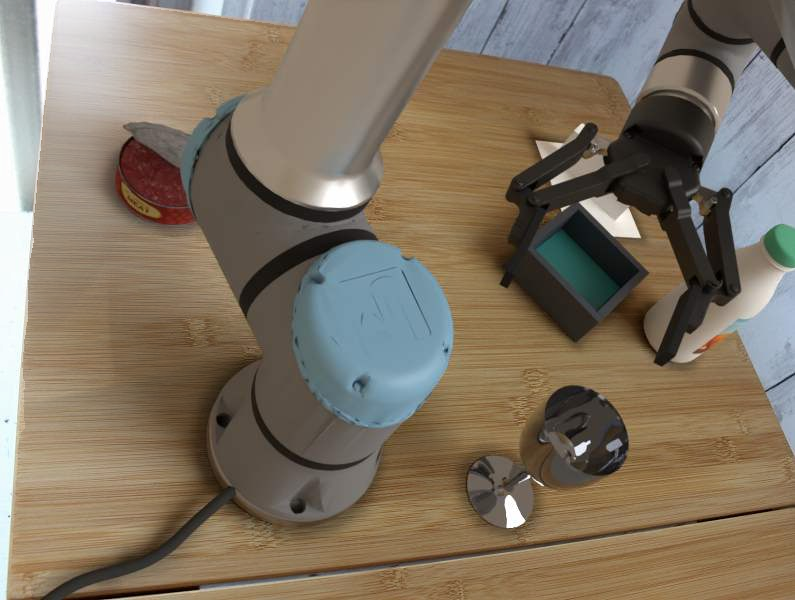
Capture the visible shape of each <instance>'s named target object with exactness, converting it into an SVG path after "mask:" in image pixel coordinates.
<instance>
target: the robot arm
mask: <svg viewBox="0 0 795 600" xmlns="http://www.w3.org/2000/svg"><path fill="white" fill-rule="evenodd" d="M473 1H474V0H308V1H307V4H306V5H305V7H304V9H303V12H302V14H301V16H300V18H299V21H298V23H297V25H296V28H295V30H294V31H293V34H292V36H291V38H290V41H289V42H288V45H287V46H286V49H285V52H284V54H283V55H282V58H281V61H280V63H279V65H278V67H277V69H276V71H275V73H274V76H273V78H272V80H271V82H270V84H268V85H263V86H259V87H257V88H255V89H253V90H251V91H249V92H246V93H243V94H240V95H237V96H234V97H232V98H230V99H228V100H226V101H225V102H223V103H222V104H221V103H220V105H218V106H217V107H215V111H216V114H215V115H214V116H212V117H208V116H205V117H203V118H202V119H201V120H200V122H199V123H198V124H197V125H196V126H195V128H194V129H193V131H191V133H190V137H189V139H188V141H187V143H186V145H185V148H184V150H183V154H182V159H181V166H180V171H181V179H182V184H183V187H184V190H185V192H186V195H187V201H188V205H189V207H190V209H191V213H192V215H193V217H194V218H195V220H196V223H197V225H198V227H199V229H200V230H201V231H202V234H203V236H204V238H205V239H206V242H207V244H208V246H209V248H210V250H211V252H212V254H213V256H214V258H215V260H216V262H217V264H218V267H219V268H220V270H221V272H222V274H223V276H224V277H225V280H226V282H227V284H228V287H229V288H230V291H231V292H232V295H233V296H234V299H235V300H236V302H237V304H238V306H239V309H240V310H241V312H242V314H243V316H244V318H245V321H246V322H247V325H248V327H249V329H250V331H251V333H252V335H253V338H254V339H255V342H256V343H257V345H258V347H259V349H260V352H261V354H262V358H260V359H258V360H256V361H254V362H251V363H250V364H248V365H246V366H244V367H242V368H241V369H240V370H238V371H237V372H236V373H235V374H233V376H232V377H230V378H229V380H228V381H226V383H225V385H224V386H223V387H222V389H221V390H220V392H219V394H218V395H217V398H216V400H215V402H214V404H213V406H212V407H211V411H210V413H209V415H208V416H209V417H208V420H207V425H206V430H205V431H206V433H205V444H206V445H205V447H206V453H207V457H208V461H209V464H210V468H211V470H212V472H213V475H214V476H215V479H216V481H217V482H218V483H219V484H218V485H220V487H221V488H222V489H223V490H222V491H221V492H220V493H218V495H216V496H215V497H213V498H212V499H211V500H210V501H209V502H208V503H207V504H205V505H204V506H203V507H202V508H201V509H199V510H198V511H197V512H196V513H195V514H194V515H193V516H191V518H190V519H188V520H187V521H186V522H185V523H184V524H183V525H182V526H181V527H179V529H178V530H177V531H176V532H175V533H174V534H173V535H172V536H170V538H168V539H167V540H166V541H165V542H163V543H162V544H161V545H159V546H157V547H156V548H154V549H152V550H151V551H149V552H147V553H145V554H143V555H140V556H138V557H135V558H133V559H130V560H126V561H122V562H120V563H116V564H112V565H108V566H104V567H100V568H96V569H93V570H90V571H88V572H85V573H82V574H80V575H77V576H74V577H72V578H70V579H68V580H67V581H64V582H62V583H61V584H60V585H58V586H56V587H54V588H53V589H52V590H51V591H49V592H47V593H46V594H45V595H44V596H42V597H41V598H39V600H63V599H65V598H66V597H68V596H69V595H71V594H73V593H75V592H77V591H79V590H81V589H84V588H86V587H89V586H92V585H94V584H98V583H102V582H104V581H108V580H112V579H116V578H120V577H125V576H127V575H130V574H133V573H137V572H139V571H142V570H144V569H146V568H148V567H151V566H153V565H154V564H156V563H158V562H160V561H162V560H164V559H165V558H167V557H168V556H169V555H171V554H172V553H173V552H175V550H177V549H178V548H179V547H180V546H181V545H182V544H183V543H184V542H185V541H186V540H187V539H188V538H189V537H191V535H192V534H193V533H194V532H196V530H197V529H199V528H200V526H202V525H203V524H204V523H205V522H207V520H208V519H210V518H211V517H212V516H213V515H215V513H217V512H218V511H219V510H220V509H222V508H223V507H224V506H226V504H227V503H228V502H230V501H231V500H232V501H233V502H234V503H235V504H236V505H237V506H238V507H240V508H241V509H242V510H244V511H245V512H246V513H248V514H250V515H252V516H253V517H255V518H257V519H259V520H261V521H264V522H266V523H269V524H272V525H276V526H280V527H288V528H308V527H315V526H318V525H322V524H325V523H327V522H330V521H332V520H334V519H337V518H338V517H340V516H342V515H343V514H345V513H346V512H347V511H349V509H351V508H352V507H353V506H355V504H357V502H358V501H359V500H360V499H361V498H362V497H363V496H364V495H365V493H366V492H367V491H368V490H369V488H370V487H371V485H372V484H373V481H374V479H375V477H376V475H377V472H378V469H379V466H380V463H381V457H382V454H383V453H382V452H383V451H382V448H383V446H384V443H385V442H386V441H387V440H388V439H389V438H390V437H391V436H392V435H393V434H394V433H395V432H396V431H397V430H398V428H400V427H401V425H403V424H404V422H405V421H406V420H408V419H410V418H411V417H412V416H413V415H414V414H415V413H416V412H417V411H419V410H420V409H421V408H422V406H423V405H424V403H426V402H427V401H428V399H429V398H430V396H431V394H432V392H433V391H434V389H435V387H436V386H437V384H438V383H439V382H440V381H441V379H442V377H443V375H444V374H445V372H446V370H447V367H448V365H449V362H450V359H451V354H452V352H453V348H454V335H455V334H454V322H453V316H452V311H451V308H450V305H449V302H448V299H447V297H446V295H445V292H444V290H443V288H442V287H441V286H440V284H439V282H438V281H437V279H436V278H435V276H434V275H433V274H432V273H431V271H430V270H429V269H428V268H427V267H426V266H425V265H424V264H423V263H422V262H421V261H419V259H417V258H416V257H415V256H410V257H406V256H404V255H402V249H401V248H399V247H398V246H396V245H394V244H391V243H387V242H385V241H380V240H379V238H378V236H377V235H376V233H375V231H374V230H373V228H372V226H371V225H370V222H369V221H368V219H367V217H366V215H365V210H366V208H367V207H368V205H369V203H370V202H371V200H372V199H373V198H374V196H375V195H376V193H377V191H378V190H379V188H380V186H381V184H382V181H383V177H384V173H385V172H384V169H385V168H384V166H385V165H384V158H383V156H382V151H381V149H380V148H381V147H382V145H383V143H384V141H385V140H386V138H387V137H388V135H389V133H390V132H391V131H392V129H393V127H394V126H395V124H396V123H397V121H398V119H399V118H400V116H401V115H402V114H403V112H404V110H405V109H406V107H407V106H408V104H409V102H410V101H411V99H412V97H413V96H414V94H415V92H416V91H417V90H418V88H419V87H420V85H421V84H422V82H423V80H424V78H425V77H426V75H427V74H428V72H429V71H430V69H431V67H432V66H433V65H434V63H435V62H436V60H437V58H438V57H439V56H440V53H441V52H442V50H443V49H444V47H445V46H446V44H447V42H448V41H449V39H450V38H451V36H452V34H453V33H454V32H455V30H456V28H457V27H458V25H459V24H460V22H461V20H462V19H463V17H464V15H465V14H466V13H467V12H468V9H469V8H470V6H471V4H472V3H473ZM758 47H759V49H760V50H761V52H762V53H763V54H764V55H765V56H766V57H767V59H768V60H769V61H770V63H772V65H773V66H774V67H775V69H776V70H778V71H779V72H780V73H781V74H782V77H784V78H785V80H786V81H787V82H788V84H789V85H790V86H791V87H792V89H793V90H794V91H795V0H682V2H681V4H680V7H679V9H678V11H676V13H675V15H674V18H673V20H672V24H671V27H670V29H669V31H668V33H667V35H666V38H665V40H664V42H663V45H662V47H661V49H660V51H659V53H658V56H657V58H656V60H655V62H654V64H653V66H652V67H651V69H650V71H649V74H648V75H647V76H646V77H647V78H646V80H645V81H644V84H643V86H642V88H641V90H640V92H639V94H638V96H637V98H636V100H635V103H634V105H633V107H632V108H631V110H630V113H629V114H628V116H627V119H626V120H625V123H624V125H623V127H622V129H621V131H620V133H619V134H618V137H617V139H615V140H613V141H610V140H609V139H607V138H605V137H603V136H602V135H600V134H599V133H598V132H599V127H598V126H597V124H596V123H594V122H587V123H585V124H584V125H585V126H584V127H583V129H582V130H581V132H580V133H579V135H578V136H577V137H576V139H574V140H572V141H571V142H569V143H568V144H566V145H564V146H563V147H561V148H560V149H558V150H556V151H555V152H553V153H552V154H550V155H548V156H547V157H545V158H544V159H542V158H541V159H540V160H539V161H537V162H535V163H534V164H532V165H531V166H529V167H528V168H526V169H524V170H523V171H521V172H520V173H518V174H516V175H514V176H513V177H512V178H511V181H510V183H509V185H508V187H507V189H506V191H505V194H504V198H505V200H506V201H507V202H508V203H511V204H514V205H516V207H517V208H518V215H517V216H516V218H515V221H514V222H513V225H512V227H511V229H510V230H509V232H508V235H507V237H506V238H507V239H506V244H508V245H510V246H512V247H515V249H516V248H517V250H516V252H515V254H514V256H513V258H512V260H511V262H510V264H509V266H508V268H507V270H505V271H504V273H503V276H502V277H501V280H500V282H499V283H498V285H499V286H501V287H503V288H504V289H509V287H510V285H511V283H512V281H513V280H514V276H515V274H516V272H517V270H518V268H519V266H520V264H521V262H522V260H523V258H524V256H525V254H526V252H527V250H528V248H529V246H530V244H531V242H532V240H533V238H534V236H535V234H536V232H537V230H539V229H540V226H541V224H542V222H543V220H544V219H545V216H546V214H548V213H551V212H554V211H556V210H561V208H563V207H566V206H569V205H572V204H575V203H578V202H581V201H584V200H586V199H589V198H592V197H596V198H599V197H602V196H605V195H608V194H611V193H613V194H614V195H615V196H616V197H617V200H616V201H618V202H620V203H622V204H625V205H629V207H633V208H635V210H637V211H638V212H640V213H641V214H644V215H645V216H647V217H651V216H656V219H657V221H658V223H659V226H660V229H661V231H663V232H665V234H666V237H667V238H668V241H669V243H670V246H671V249H672V251H673V254H674V256H675V260H676V262H677V265H678V267H679V270H680V272H681V275H682V278H683V281H684V280H685V283H686V285H687V288H688V289H687V290H686V291H685V292H684V293H683V294H682V295H681V296H680V297H679V300H678V302H677V305H676V307H675V310H674V312H673V315H672V317H671V320H670V322H669V325H668V327H667V330H666V332H665V335H664V337H663V340H662V342H661V344H660V347H659V349H658V352H657V351H656V355H655V357H654V359H653V362H652V363H653V364H655V365H657V366H659V367H661V368H662V367H664V366H665V365H666V364H668V363H669V362H671V361H670V360H671V359H673V358H674V357H675V356H676V354H677V352H678V349H679V347H680V344H681V342H682V339H683V337H684V334H685V332H686V333H688V334H691V333H693V332H694V331H695V330H696V329H698V328H699V327H700V326H701V325H702V323H703V321H704V318H705V315H706V313H707V310H708V307H709V305H710V302H712V303H715V304H716V305H718V306H721V307H722V306H725V305H726V304H728V303H729V302H730V301H731V300H733V299H734V298H735V297H736V296H738V295H739V294H740V293H741V284H740V277H739V271H738V265H737V259H736V252H735V249H736V247H735V241H734V234H733V228H732V221H731V215H730V210H731V207H732V203H733V198H734V193H733V191H732V190H731V189H730V188H728V187H721V188H720V189H719V190H718V191H717V190H714V189H711V188H709V187H706V186H703V185H701V184H702V183H701V179H700V178H701V177H700V176H701V172H702V169H703V168H704V165H705V163H706V160H707V158H708V156H709V153H710V151H711V148H712V146H713V143H714V141H715V139H716V135H717V134H718V132H719V129H720V127H721V124H722V122H723V119H724V117H725V114H726V112H727V109H728V107H729V104H730V102H731V100H732V97H733V94H734V91H735V89H736V88H737V85H738V83H739V81H740V78H741V76H742V73H743V72H744V70H745V68H746V66H747V64H748V62H749V60H750V59H751V57H752V55H753V54H754V53H755V51H756V50H757V48H758ZM597 154H599V155H602V156H603V162H604V166H603V167H601V168H600V169H599V170H597V171H594V172H591V173H588V174H585V175H582V176H579V177H576V178H573V179H570V180H567V181H564V182H561V183H558V184H555V185H552V184H551V185H549V186H546V187H543V186H544V185H546V184H547V183H549V182H551V181H550V180H552V179H553V178H555V177H557V176H558V175H560V174H561V173H563V172H564V171H566V170H567V169H569V168H571V167H572V166H574V165H575V164H576V163H577V162H578V161H579V160H580V159H581V158H583V159H588V158H591V157H593V156H594V155H597ZM541 187H543V188H541ZM539 188H540V189H539ZM691 201H695V202H696V203H697V204H698V210H699V211H698V215H699V216H700V217H703V219H702V231H703V239H704V245H705V248H704V246H703V243H702V241H701V238H700V236H699V233H698V231H697V228H696V225H695V223H694V220H693V218H692V206H691V204H690V202H691Z"/></svg>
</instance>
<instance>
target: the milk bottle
mask: <svg viewBox="0 0 795 600" xmlns="http://www.w3.org/2000/svg"><path fill="white" fill-rule="evenodd" d="M735 252H736V259H737V265H738V271H739V277H740V284H741V293H740V294H739V295H738V296H736V297H735V298H734V299H733V300H731V301H730V302H729V303H728V304H726V305H725V306H722V307H721V306H718V305H716V304H715V303H712V302H710V305H709V307H708V310H707V313H706V315H705V318H704V321H703V323H702V325H701V326H700V327H699V328H698V329H696V330H695V331H694V332H693V333H691V334H688V333H686V332H685V334H684V337H683V339H682V342H681V344H680V347H679V349H678V352H677V354H676V356H675V357H674V358H673V359H671V360H670V361H669V362H672V363H677V364H683V363H689V362H692V361H693V360H695V359H697V358H698V357H699V356H701V355H702V354H704V353H706V352H707V351H708V350H709V349H711V348H713V347H714V346H715V345H717V344H718V343H720V342H721V341H722V340H724V339H725V338H726V337H728V336H730V335H731V334H732V333H734V332H735V331H737V330H738V329H740V328H741V327H742V326H743V325H745V324H747V323H748V322H749V321H750V320H751V319H753V318H754V317H756V316H757V315H758V314H759V313H760V312H761V311H762V310H763V309H764V308H765V307H766V306H767V305H768V304H769V302H770V301H771V299H772V298H773V296H774V293H775V291H776V289H777V288H778V285H779V283H780V281H781V280H782V278H783V277H784V276H785V274H786V273H788V272H789V273H790V272H793V271H795V227H793V226H791V225H789V224H785V223H779V224H776V225H774V226H772V227H771V228H770V229H769V230H768V231H767V232H766V233H764V234H763V235H761V237H760V238H759V241H757V242H755V243H753V244H751V245H747V246H744V247H739V248H735ZM687 289H688V288H687V285H686V283H685V280H684V279H683V281H681V282H680V283H679V284H678V285H677V286H675V287H674V288H673V289H672V290H671V291H670V292H668V293H667V294H666V295H665V296H664V297H662V298H661V299H659V300H658V301H657V302H656V303H655V304H654V305H653V306H652V307H650V308H649V309H648V310H647V311H646V314H645V316H644V319H643V331H644V334H645V336H646V339H647V341H648V343H649V344H650V346H651V347H652V348H653V349H654V351H655V352H656V353H657V352H658V349H659V347H660V344H661V342H662V340H663V337H664V335H665V332H666V330H667V327H668V325H669V322H670V320H671V317H672V315H673V312H674V310H675V307H676V305H677V302H678V300H679V297H680V296H681V295H682V294H683V293H684V292H685V291H686V290H687Z"/></svg>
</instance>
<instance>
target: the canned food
mask: <svg viewBox="0 0 795 600" xmlns="http://www.w3.org/2000/svg"><path fill="white" fill-rule="evenodd" d="M122 128H123V129H124V130H126V131H127V132H129V133H130V134H131V136H130V137H128V138H127V139H126V141H124V143H122V145H121V147H120V149H119V150H118V154H117V155H118V156H117V163H116V168H115V173H114V179H113V180H114V187H115V191H116V194H117V196H118V197H119V199H120V201H121V202H122V203H123V205H124V206H125V207H126V208H127V209H128V210H129V211H130V212H132V213H133V214H134V215H136V216H137V217H139V218H141V219H143V220H144V221H146V222H150V223H152V224H155V225H159V226H165V227H179V226H180V227H181V226H186V225H190V224H193V223H197V221H196V220H195V218H194V217H193V215H192V213H191V209H190V207H189V205H188V201H187V195H186V192H185V190H184V187H183V184H182V179H181V171H180V166H181V159H182V154H183V150H184V148H185V145H186V143H187V141H188V139H189V137H190V135H191V133H187V132H185V131H184V130H180V129H177V128H173V127H171V126H168V125H165V124H161V123H152V122H147V121H140V122H138V121H137V122H135V121H129V122H128V123H124V124H122Z"/></svg>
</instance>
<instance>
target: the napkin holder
mask: <svg viewBox="0 0 795 600" xmlns="http://www.w3.org/2000/svg"><path fill="white" fill-rule="evenodd" d="M585 125H586V124H584V123H583V122H582V123H581V124H580V125H578V126H577V127H576V128H575V129H574V130H573V131H572V132H571V134H570V135H569V136H568V137H567V139H566V140H565V141H564V142H562V143H561V142H554V141H546V140H545V141H544V140H535V144H536V146H537V149H538V151H539V152H538V153H539V154H540V157H541V160H542V159H544V158H545V157H547V156H548V155H550V154H552V153H553V152H555V151H556V150H558V149H560V148H561V147H563V146H564V145H566V144H568V143H569V142H571V141H572V140H574V139H576V137H577V136H578V135H579V133H580V132H581V130H582V129H583V127H584V126H585ZM603 166H604V162H603V156H602V155H599V154H597V155H594V156H593V157H591V158H588V159H583V158H581V159H580V160H579V161H578V162H577V163H576V164H575V165H574V166H572V167H571V168H569V169H567V170H566V171H564V172H563V173H561V174H560V175H558V176H557V177H555V178H553V179H552V180H550V181H549V182H550V185H551V186H552V185H555V184H558V183H561V182H564V181H567V180H570V179H573V178H576V177H579V176H582V175H585V174H588V173H591V172H594V171H597V170H599V169H600V168H601V167H603ZM616 200H617V197H616V196H615V195H614V194H613V193H611V194H608V195H605V196H602V197H599V198H596V197H592V198H589V199H586V200H584V201H581V202H579V203H580V204H581V205H582V206H583V207H584V208H585V209H586V210H587V211H588V212H589V213H590V214H591V215H592V216H593V217H594V218H595V219H596V220H597V221H598V222H599V223H600V224H601V225H602V226H603V227H604V228H605V229H606V230H607V231H608V232H609V233H610V234H611V235H612V236H613V237H614V238H615V237H617V238H633V239H634V238H635V239H641V238H642V237H641V234H640V231H639V230H638V227H637V225H636V222H635V220H634V217H633V215H632V213H631V210H630V208H629V207H630V206H629V205H625V204H622V203H620V202H618V201H616ZM569 206H570V205H569ZM569 206H566V207H563V208H560V211H561V212H562V211H563V210H565V209H566V208H567V207H569Z"/></svg>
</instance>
